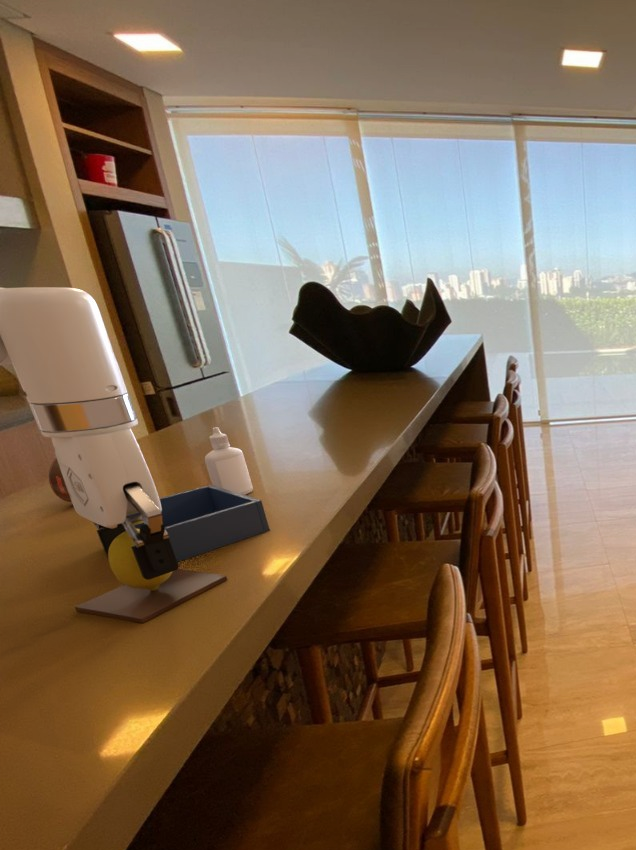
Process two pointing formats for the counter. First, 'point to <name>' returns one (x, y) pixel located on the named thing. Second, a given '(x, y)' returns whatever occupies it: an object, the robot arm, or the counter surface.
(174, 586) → the coaster
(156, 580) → the lemon
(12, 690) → the counter surface
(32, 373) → the robot arm
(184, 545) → the tote
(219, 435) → the eye dropper bottle
